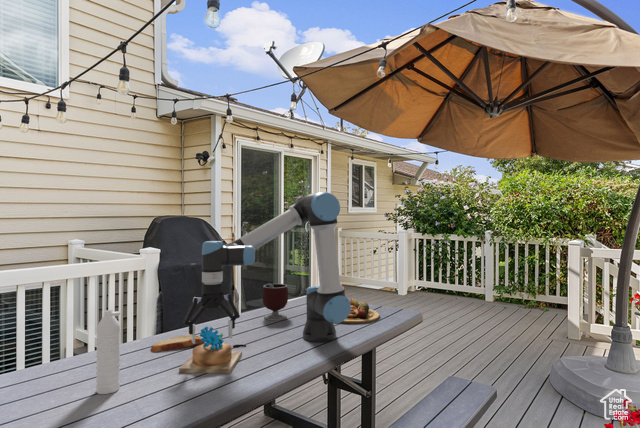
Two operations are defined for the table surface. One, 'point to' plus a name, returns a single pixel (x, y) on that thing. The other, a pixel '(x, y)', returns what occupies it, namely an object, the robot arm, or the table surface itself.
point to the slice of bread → (176, 343)
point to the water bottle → (108, 353)
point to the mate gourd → (275, 300)
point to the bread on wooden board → (211, 360)
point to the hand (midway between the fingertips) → (212, 340)
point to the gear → (211, 338)
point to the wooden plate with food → (360, 314)
